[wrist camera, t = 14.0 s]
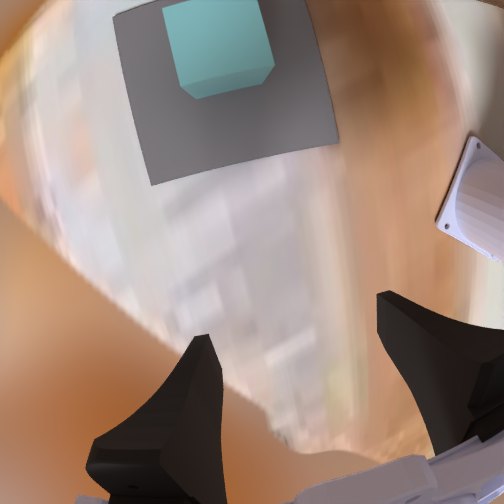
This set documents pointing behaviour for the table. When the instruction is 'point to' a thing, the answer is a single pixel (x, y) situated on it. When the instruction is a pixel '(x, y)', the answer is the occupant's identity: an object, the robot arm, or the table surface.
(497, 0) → the walnut box
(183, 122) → the charcoal mat
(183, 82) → the teal block
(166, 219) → the table surface
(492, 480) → the robot arm
